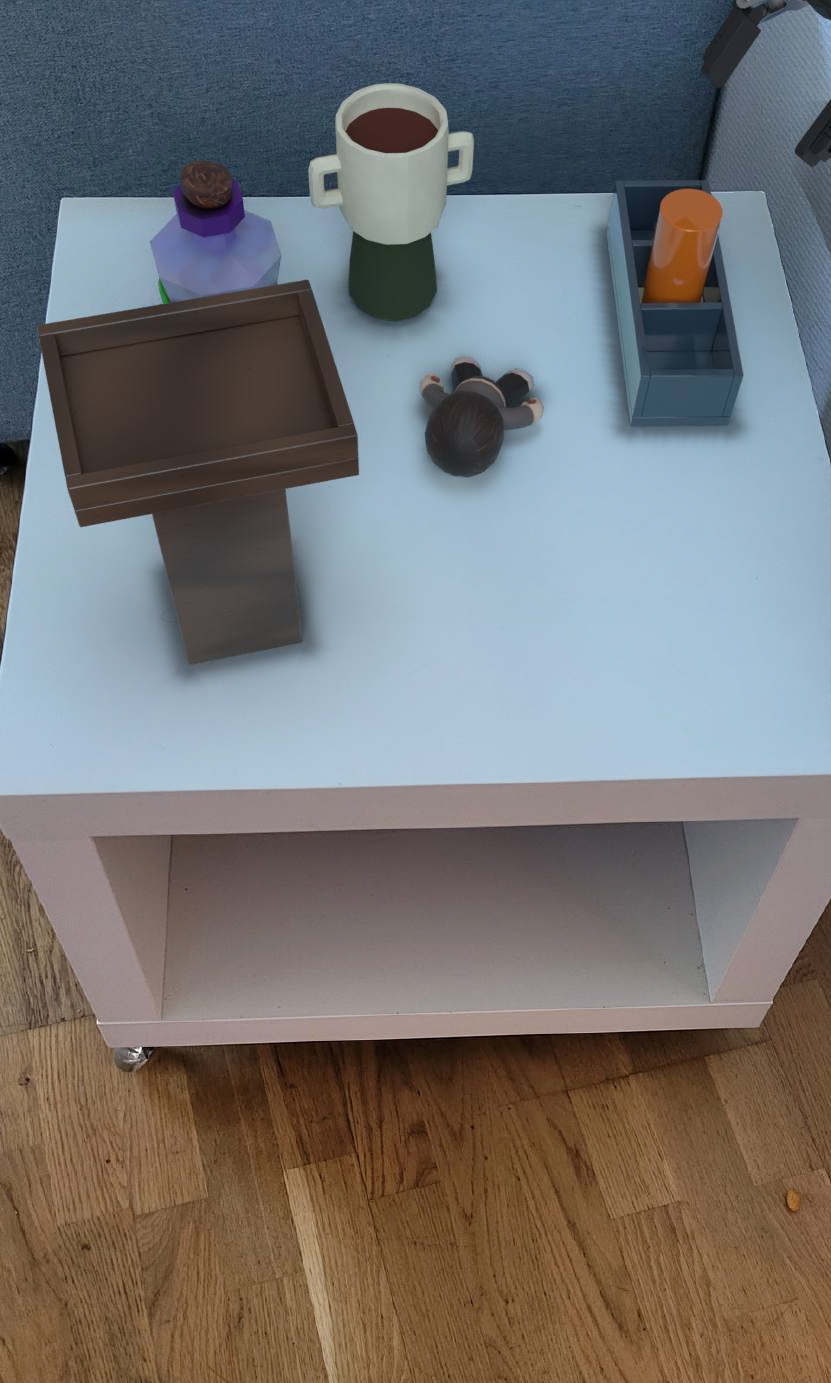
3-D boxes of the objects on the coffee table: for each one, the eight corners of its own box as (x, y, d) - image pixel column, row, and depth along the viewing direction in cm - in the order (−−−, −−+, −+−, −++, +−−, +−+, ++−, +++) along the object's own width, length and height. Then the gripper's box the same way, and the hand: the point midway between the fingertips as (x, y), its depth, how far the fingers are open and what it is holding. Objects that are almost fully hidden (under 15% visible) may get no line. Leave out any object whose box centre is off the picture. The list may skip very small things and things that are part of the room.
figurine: (430, 393, 90) (387, 476, 84) (436, 324, 86) (392, 407, 80) (548, 420, 89) (513, 506, 83) (559, 353, 85) (523, 438, 79)
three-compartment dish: (696, 234, 95) (709, 179, 91) (728, 426, 87) (743, 375, 84) (606, 234, 95) (615, 180, 91) (630, 426, 87) (641, 376, 83)
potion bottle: (141, 326, 91) (106, 164, 80) (244, 274, 93) (224, 110, 82) (210, 400, 88) (184, 243, 77) (314, 344, 90) (303, 185, 79)
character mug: (451, 248, 94) (459, 68, 83) (481, 316, 91) (493, 140, 80) (305, 276, 93) (291, 98, 81) (330, 346, 90) (320, 172, 78)
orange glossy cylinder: (701, 300, 91) (728, 195, 84) (690, 340, 89) (715, 236, 82) (646, 287, 91) (667, 182, 84) (633, 326, 90) (653, 223, 83)
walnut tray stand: (326, 519, 84) (308, 278, 67) (366, 657, 79) (358, 435, 63) (108, 561, 82) (36, 324, 66) (137, 704, 78) (67, 489, 61)
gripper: (846, -270, 70) (651, 33, 78) (1042, -138, 65) (813, 169, 74) (890, -197, 76) (704, 78, 84) (1073, -70, 71) (857, 206, 80)
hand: (755, 120), depth 79 cm, fingers open, 8 cm apart
